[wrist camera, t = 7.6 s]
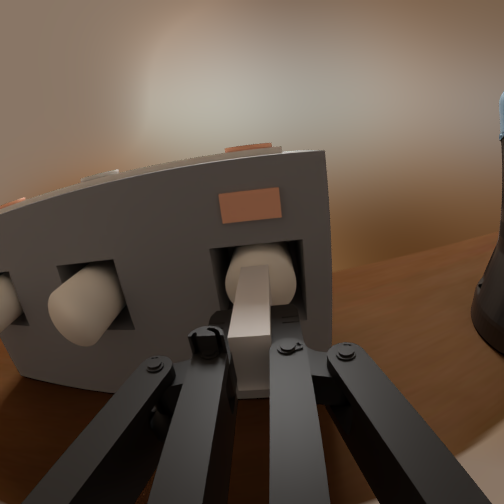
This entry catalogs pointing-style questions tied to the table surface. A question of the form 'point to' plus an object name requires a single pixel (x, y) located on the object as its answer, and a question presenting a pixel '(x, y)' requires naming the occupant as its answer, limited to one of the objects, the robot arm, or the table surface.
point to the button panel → (164, 256)
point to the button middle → (87, 303)
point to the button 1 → (8, 302)
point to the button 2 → (278, 265)
